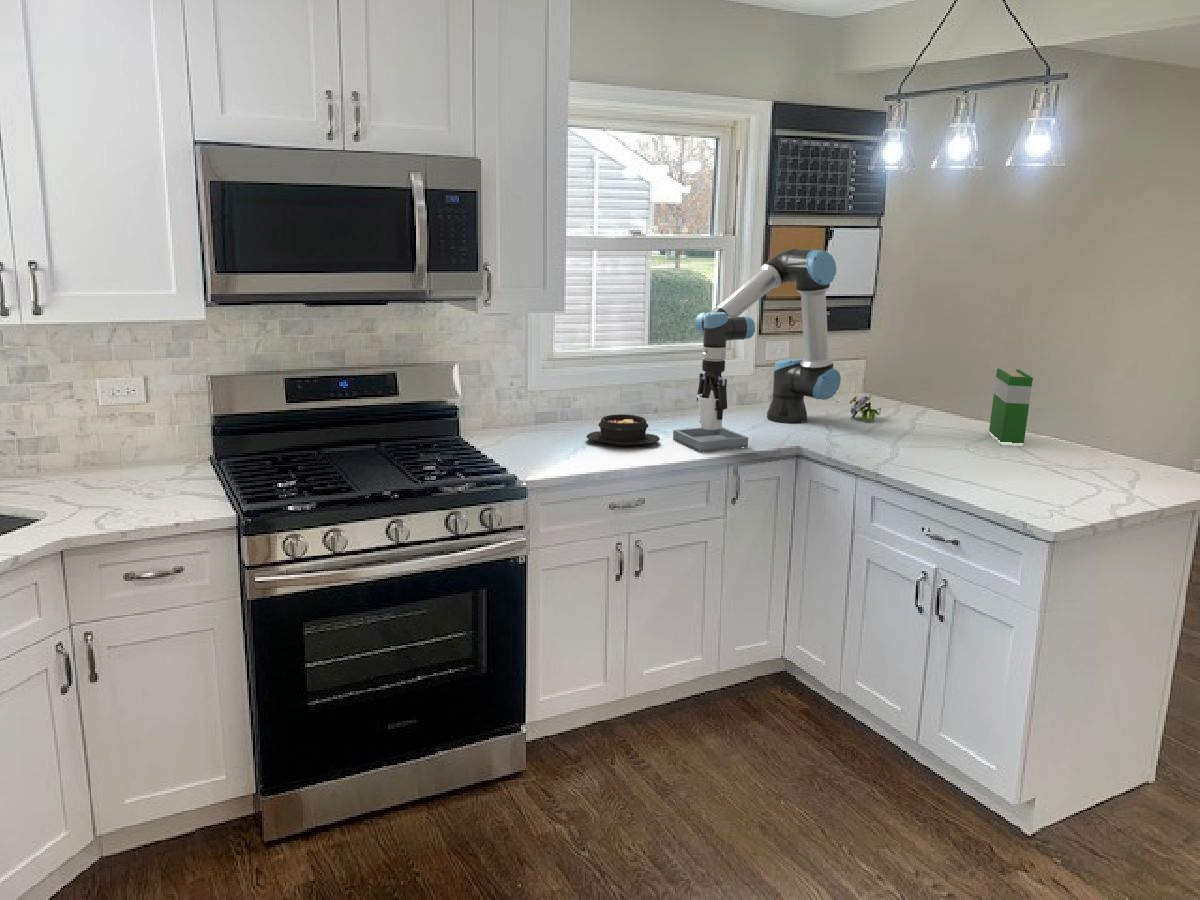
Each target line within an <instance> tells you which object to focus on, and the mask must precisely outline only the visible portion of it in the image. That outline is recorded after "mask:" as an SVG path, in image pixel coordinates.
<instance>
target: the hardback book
mask: <svg viewBox="0 0 1200 900" xmlns="http://www.w3.org/2000/svg"><path fill="white" fill-rule="evenodd" d="M1033 381H1034V377H1032V376H1031V375H1029V374H1028V373H1026V372H1025V371H1022V369H1018V368H1016V370H1003V369H1001V368H999V367H997V368H996V373H995V381H994V382H995V383H994V389H993V395H992V396H993V397H992V406H991V412H990V422H989V428H988V429H989V430H988V432H989V431H990V432H991V433H992V434H993V435H994V436H995V437H997V438H998V440H1000V442H1012V443H1024V444H1025V438H1026V431H1027V430H1026V429H1027V425H1028V416H1029V411H1030V410H1029V408H1030V403H1031V395H1032V394H1031V393H1032V388H1033Z"/></svg>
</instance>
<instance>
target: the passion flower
mask: <svg viewBox="0 0 1200 900" xmlns="http://www.w3.org/2000/svg"><path fill="white" fill-rule="evenodd" d="M871 397H872V394H870V393H869V394H868V396H867V395H865V396H863V397H861V398H859V399H857V398H858V396H856V395H855V396H854V397H853V398H852V399H851V400H850V402H849V405H850V404H853V405H852V406H851V407H850V414H851V417H853V419H854V418H855V417H856V416H857V414H858V412H860V414H861V419H862V420H861V421H862V422H863V421H867V418H868V421H869V422H871V421H872V420H875V418H876V415H877V416H880V414H881V412H882V411H881V410H882V407H878V408H876V409H875V408H872V407H871V406H872V403H871ZM878 410H879V412H878Z"/></svg>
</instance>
